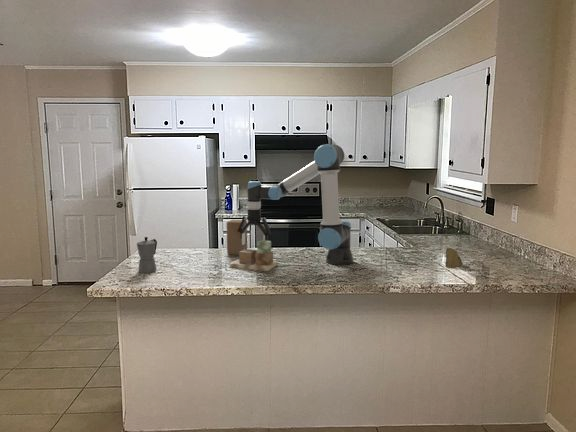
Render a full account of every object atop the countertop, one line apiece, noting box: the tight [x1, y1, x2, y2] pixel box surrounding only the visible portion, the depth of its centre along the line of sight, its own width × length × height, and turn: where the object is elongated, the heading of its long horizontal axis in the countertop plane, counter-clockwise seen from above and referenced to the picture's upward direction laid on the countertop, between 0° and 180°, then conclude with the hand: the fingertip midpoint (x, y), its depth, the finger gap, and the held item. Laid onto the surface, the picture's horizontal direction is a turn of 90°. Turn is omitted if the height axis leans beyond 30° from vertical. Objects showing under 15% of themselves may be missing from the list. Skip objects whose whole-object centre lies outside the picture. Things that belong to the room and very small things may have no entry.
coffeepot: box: [136, 236, 158, 274], centre depth 230 cm, size 15×9×18 cm, turn 162°
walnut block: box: [238, 248, 257, 264], centre depth 240 cm, size 7×7×6 cm
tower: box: [256, 239, 274, 266], centre depth 236 cm, size 7×7×12 cm
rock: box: [444, 247, 463, 269], centre depth 237 cm, size 11×9×10 cm
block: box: [226, 219, 248, 256], centre depth 268 cm, size 10×10×20 cm
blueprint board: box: [229, 258, 278, 272], centre depth 239 cm, size 22×13×2 cm, turn 69°
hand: (254, 245), depth 254 cm, fingers open, 13 cm apart
